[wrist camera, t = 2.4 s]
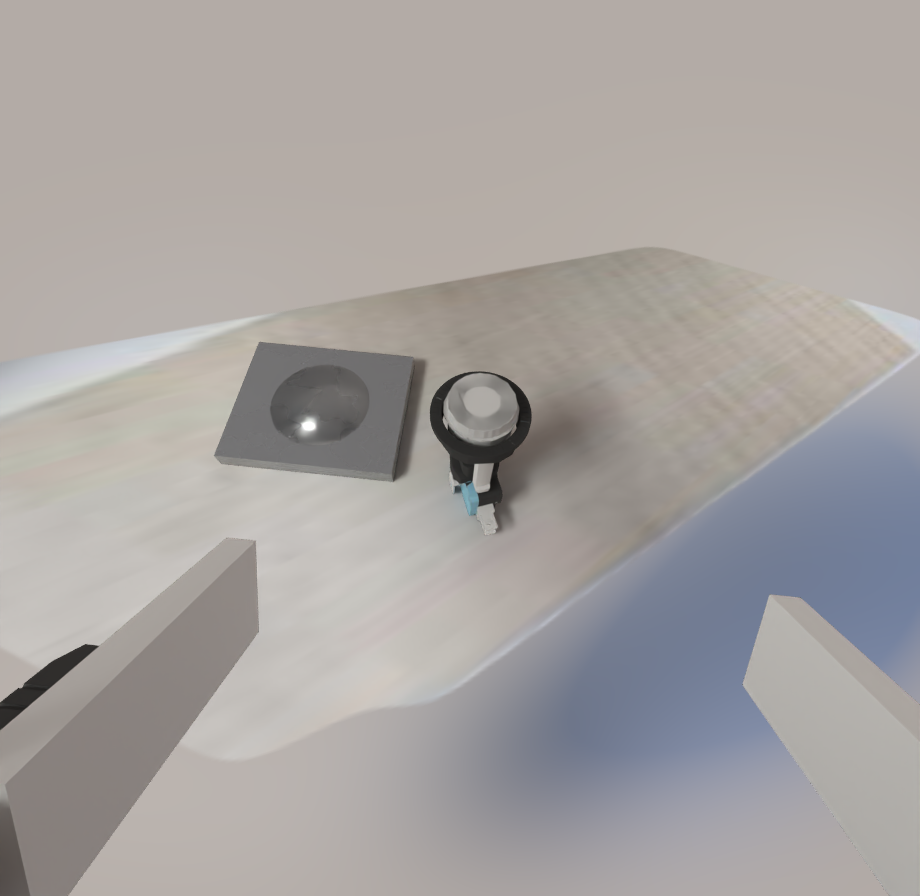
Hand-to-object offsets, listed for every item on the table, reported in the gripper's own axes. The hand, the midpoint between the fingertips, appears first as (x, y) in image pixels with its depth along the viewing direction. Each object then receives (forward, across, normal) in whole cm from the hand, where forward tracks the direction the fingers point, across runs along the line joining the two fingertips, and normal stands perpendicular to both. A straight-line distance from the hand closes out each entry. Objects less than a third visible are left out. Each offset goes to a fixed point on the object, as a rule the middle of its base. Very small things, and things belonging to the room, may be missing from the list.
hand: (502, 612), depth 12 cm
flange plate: (+23, -12, 0) cm, 26 cm away
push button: (+20, -1, -4) cm, 20 cm away
